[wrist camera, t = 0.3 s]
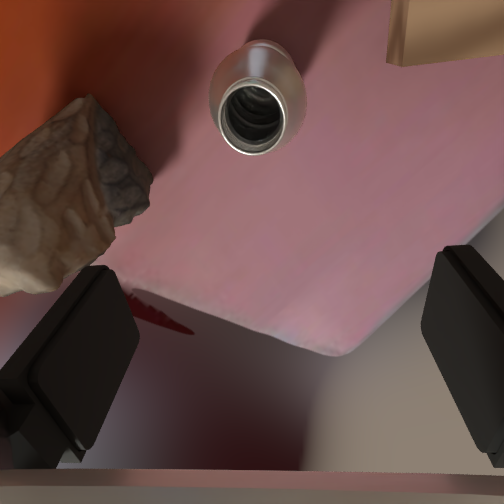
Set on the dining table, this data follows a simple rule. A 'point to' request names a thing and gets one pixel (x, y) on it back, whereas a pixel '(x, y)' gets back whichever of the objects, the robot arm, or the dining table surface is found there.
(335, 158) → the dining table surface
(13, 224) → the brown rock
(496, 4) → the walnut plinth
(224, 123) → the plastic bottle
